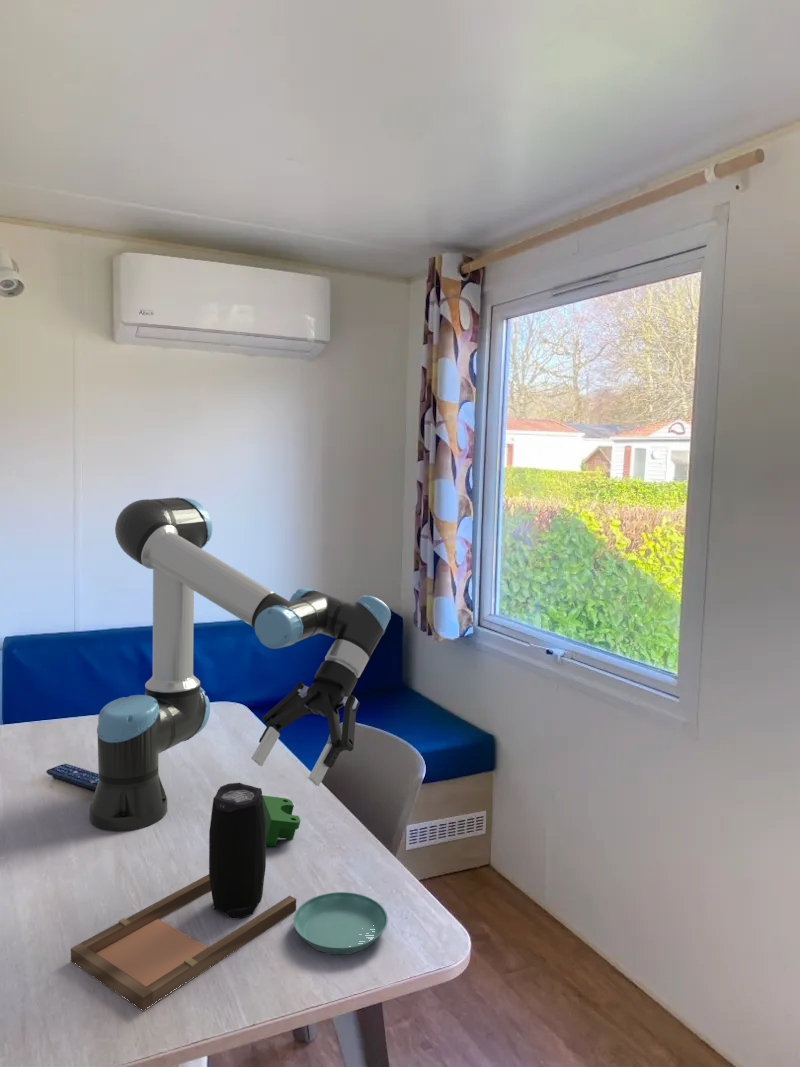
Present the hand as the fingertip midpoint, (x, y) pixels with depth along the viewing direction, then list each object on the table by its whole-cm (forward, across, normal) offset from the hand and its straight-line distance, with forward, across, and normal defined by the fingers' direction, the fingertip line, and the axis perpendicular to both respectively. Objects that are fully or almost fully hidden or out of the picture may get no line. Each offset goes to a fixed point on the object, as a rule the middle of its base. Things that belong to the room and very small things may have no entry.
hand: (284, 772), depth 134 cm
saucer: (+18, -18, -10) cm, 27 cm away
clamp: (+6, +12, -22) cm, 26 cm away
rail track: (+28, 0, 0) cm, 28 cm away
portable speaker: (+21, 0, -6) cm, 22 cm away
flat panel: (+32, 0, +5) cm, 33 cm away
